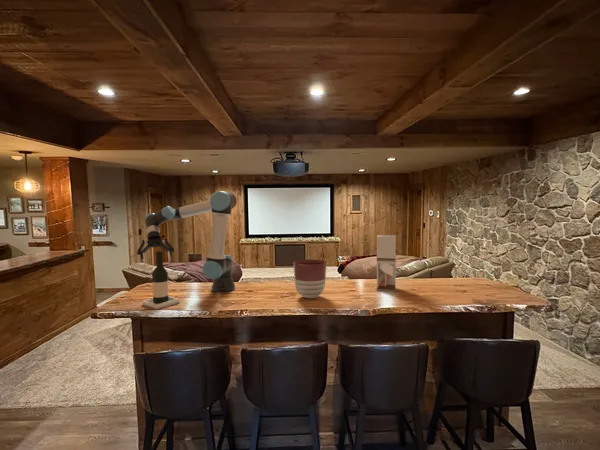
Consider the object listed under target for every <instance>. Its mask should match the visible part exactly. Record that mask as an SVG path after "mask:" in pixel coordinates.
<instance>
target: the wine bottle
mask: <svg viewBox="0 0 600 450" xmlns="http://www.w3.org/2000/svg"><path fill="white" fill-rule="evenodd" d="M155 255H156V257H155V258H156V260H155V261H156V267H155V268H154V271H153V273H152V276H151V277H152V278H151V279H152V280H151V281H152V298H153V303H155V304H160V303H164V302H167V301H169V273H168V271H167V270H166V267H164V262H163V261H164V260H163V259H164V255H163V249H162V250H161V249H157V250H156V252H155Z"/></svg>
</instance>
